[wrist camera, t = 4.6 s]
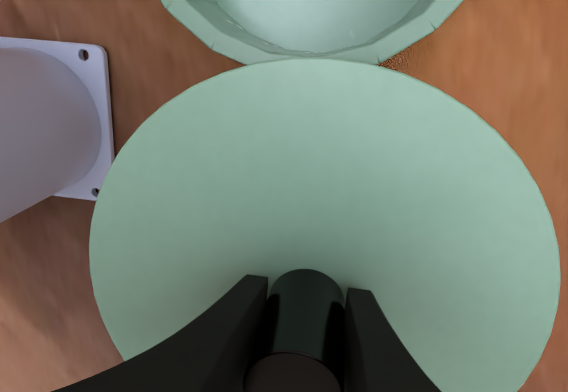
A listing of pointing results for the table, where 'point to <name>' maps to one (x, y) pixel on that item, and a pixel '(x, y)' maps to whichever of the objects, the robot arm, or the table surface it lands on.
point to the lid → (329, 225)
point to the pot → (310, 26)
